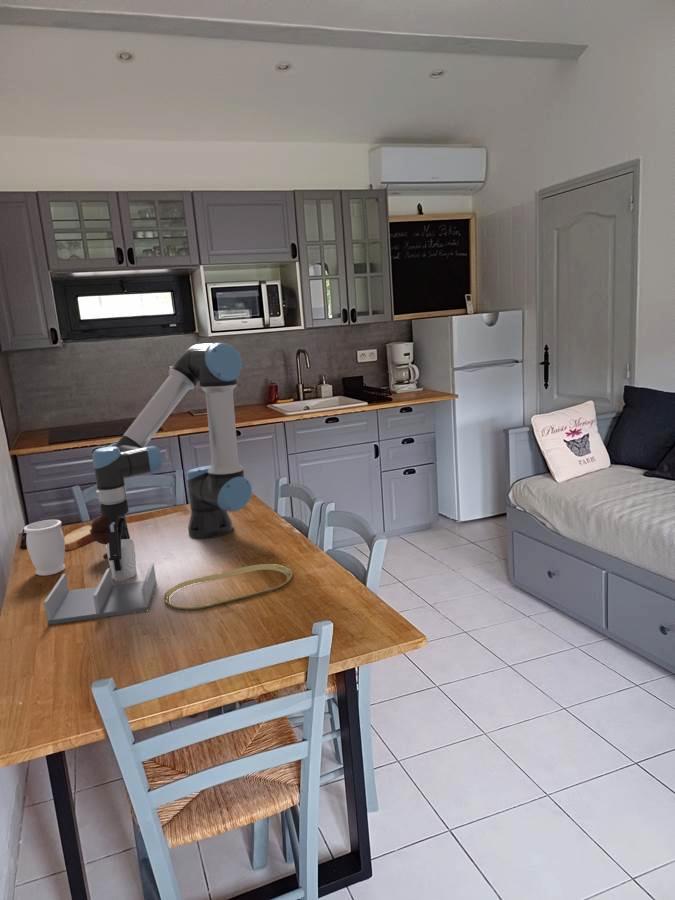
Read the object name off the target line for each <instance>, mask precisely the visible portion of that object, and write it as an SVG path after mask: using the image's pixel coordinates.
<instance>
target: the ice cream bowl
mask: <svg viewBox="0 0 675 900" xmlns="http://www.w3.org/2000/svg"><path fill="white" fill-rule="evenodd" d="M108 522H110V519H109V518H108V517H103V516H102V515H101V514H100V515H99V516H97V517H96V518H95V519H94V520H93V521H92V522H91V530H90V533H91V535H92V537H93V538H94V539H95V540H94V541H96V542H97V543H99V544H101V545H105V546H106V545H107V544H108V543H109V537H108V529H107V525H108ZM102 557H103V559H106V560H108V556H107V552H105V553H104V554H103V556H102Z"/></svg>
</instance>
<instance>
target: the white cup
mask: <svg viewBox="0 0 675 900" xmlns="http://www.w3.org/2000/svg"><path fill="white" fill-rule="evenodd" d="M135 550H136V548H135V540H134V539H121V557H122V558H123V564H124V571H125V577H126V580H129V579H131V577H132V578H133V577H135V576H136V575H137V562H136V551H135ZM105 551H106V553H107V556H108V559H107V562H108V564H109V568H110V570H111V577H112V580H115V575H114V568H113V562H112V560H111V561H109V558H110V551H109V543H108V544H107V545H106V544H105ZM114 556H116V555H114Z"/></svg>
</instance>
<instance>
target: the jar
mask: <svg viewBox="0 0 675 900" xmlns="http://www.w3.org/2000/svg"><path fill="white" fill-rule="evenodd" d="M61 526H62V521H61V520H60V519H44V520H41V521H40V520H38V521H35V522H31V523H29V524H27V525H25V526H24V527H23V531H24V533H25V534H26V539H25V542H26V548H27V552H28V554H29V557H30V560H31V562H32V564H33V566H34V567H35V575H38V576H44V577H45V576H51V575H55V574H58V573H61V572H62V571H64V570H65V569H66V564H65V563H64V562H65V557H66V553H65V552H66V551H65V540H64V537H65V535H64V532H63V530H62V528H61Z"/></svg>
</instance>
